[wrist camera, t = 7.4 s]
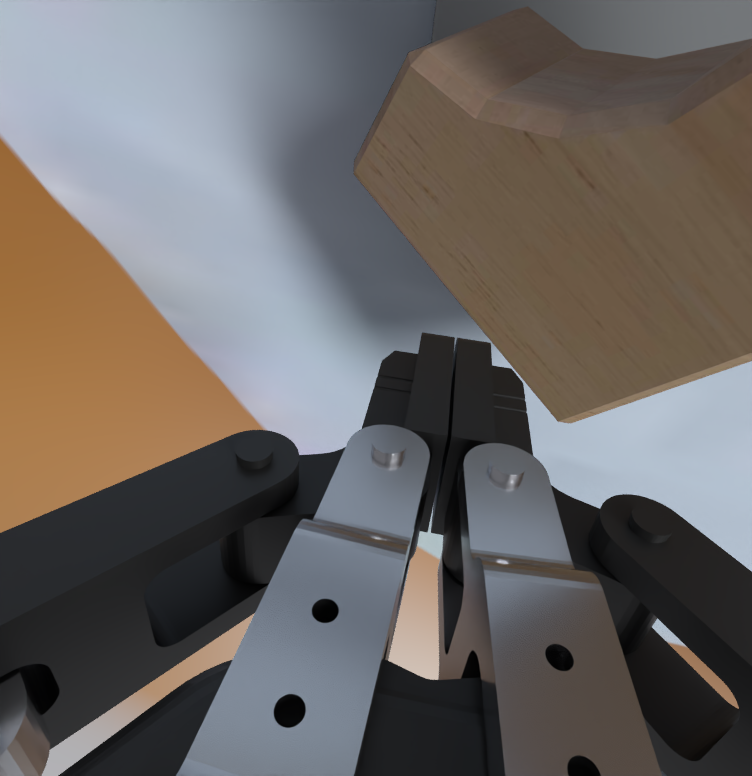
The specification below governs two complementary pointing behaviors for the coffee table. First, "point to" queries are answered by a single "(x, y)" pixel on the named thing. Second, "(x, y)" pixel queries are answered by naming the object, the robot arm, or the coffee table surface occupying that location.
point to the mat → (616, 22)
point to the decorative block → (578, 203)
